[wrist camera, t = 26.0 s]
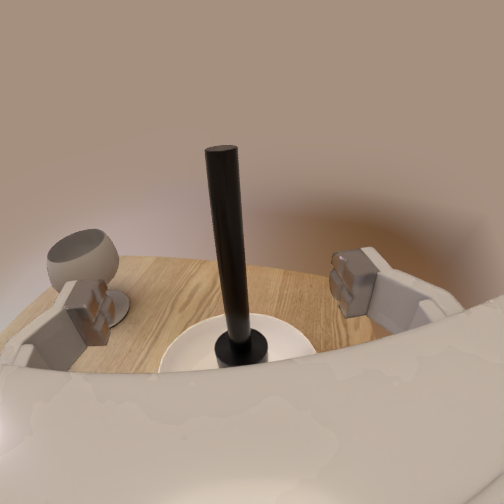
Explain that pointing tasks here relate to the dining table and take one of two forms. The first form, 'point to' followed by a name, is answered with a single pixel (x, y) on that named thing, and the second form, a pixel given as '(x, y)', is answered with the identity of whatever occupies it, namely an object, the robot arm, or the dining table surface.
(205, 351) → the bowl
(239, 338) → the rod on round base
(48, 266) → the chalice
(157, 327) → the dining table surface
